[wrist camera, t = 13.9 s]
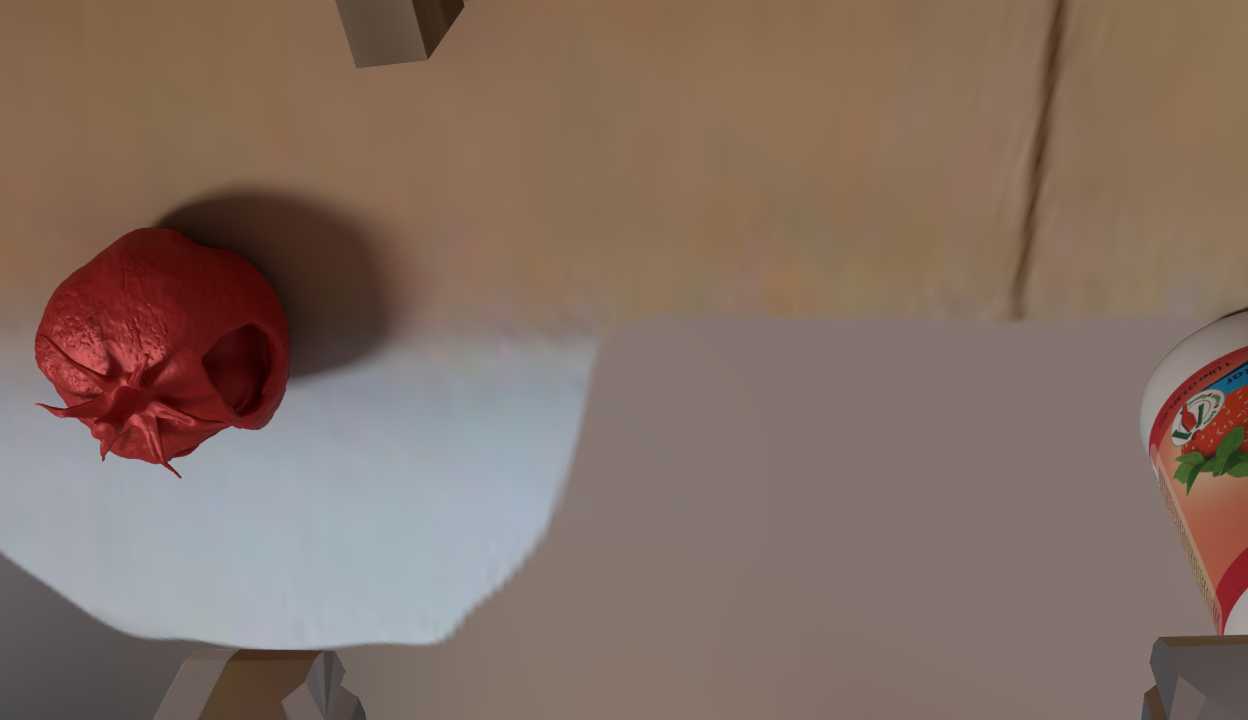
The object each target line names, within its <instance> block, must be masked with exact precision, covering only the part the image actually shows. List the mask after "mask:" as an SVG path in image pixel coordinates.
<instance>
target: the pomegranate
mask: <svg viewBox="0 0 1248 720" xmlns="http://www.w3.org/2000/svg"><path fill="white" fill-rule="evenodd" d="M289 331H290V330H289V327H288V322H287V318H286V315H285V312H284V310H283V306H282V304H281V302H280V299H279V297H278V296H277V294H276V292H275V291H274V289H273V288H272V286H271V285H270V284H269V282H268V281H267V279H266V278H265V276H264V275H262V273H261V272H260V271H259V270H258V269H257V268H255V267H254V266H253V265H252V264H251V263H250V262H249V261H248V260H246V259H245V258H243V257H242V256H241V255H239V254H237V253H236V252H233V251H230V250H222V249H216V248H211V247H207V246H202V245H199V244H197V243H195V242H194V241H192V240H191V239H190V238H188V237H187V236H185V235H183V234H181V233H180V232H178V231H176V230H173V229H164V228H153V227H151V228H141V229H136V230H134V231H132V232H130V233H127V234H125V235H124V236H122V237H121V238H119V239H118V240H117V241H115V242H114V243H113V244H111V245H110V246H109V247H108V248H106V249H105V250H103V251H102V252H100V253H99V254H98V255H97V256H96V257H95V258H94V259H92V260H91V261H90V262H89V263H87V264H86V265H85V266H83V267H81V268H79V269H78V270H76V271H75V272H73V273H72V274H71V275H70V276H69V277H68V278H67V279H66V280H64V281H63V282H62V283H61V284H60V285H59V286H58V288H57V289H56V290H55V291H54V293H53V295H52V297H51V298H50V300H49V302H48V304H47V306H46V308H45V311H44V315H43V317H42V320H41V323H40V325H39V327H38V331H37V333H36V338H35V353H36V356H35V359H36V361H37V364H38V367H39V369H40V370H41V371H42V372H43V373H44V374H45V376H46V377H47V379H48V380H49V381H50V382H52V383H53V384H54V386H55V389H56V391H57V393H58V394H59V395H60V396H61V398H62V399H63V400H64V402H65V403H66V405H67V407H68V408H65V409H63V408H57V407H50V406H47V405H44V404H39V403H38V404H35V405H39V406H42V407H44V408H46V409H47V410H49V411H50V412H51V413H52V414H54V415H55V416H57V417H60V418H64V417H73V418H77V419H78V420H80V421H81V422H82V423H84V424H85V425H87V426H88V427H89V428H90V429H91V434H92V436H93V437H94V438H96V439H99V440H100V441H101V444H100V454H101V456H102V461H104V460H105V455H106V454H107V452H108V451H109V450H110V451H111V452H113V453H114V454H115V455H117V456H120V457H124V458H128V459H140V460H143V461H146V462H149V463H152V464H162V465H163V466H165V467H166V468H168V469H169V470H171V471H173V472H174V473H175V474H176V475H177V476H178V477H179V478H181V476H180V475H179V474H178V473H177V472H176V471H175V470H174V469H173V468H172V467H171V466H170V465H169V464H168V463H167V462H168V461H170V460H172V458H177V457H183V456H186V455H189V454H190V453H192V452H193V451H194V450H195V449H196V448H197V447H198V446H199V444H201V443H202V442H203V441H205V440H206V439H208V438H210V437H212V436H214V435H216V434H217V433H218V432H220V431H221V430H223V429H226V428H228V427H230V426H234V427H236V428H239V429H242V428H244V429H250V430H259V429H261V428H263V427H265V426H266V425H267V424H268V423H269V421H270V420H271V419H272V417H273V415H274V413H275V411H276V410H277V409H278V407H279V405H280V403H281V402H282V399H283V396H284V394H285V391H286V384H287V381H288V378H289V376H290V372H289V359H290V333H289Z"/></svg>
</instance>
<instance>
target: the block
mask: <svg viewBox="0 0 1248 720" xmlns="http://www.w3.org/2000/svg"><path fill="white" fill-rule="evenodd" d="M335 1H336V4H337V7H338V10H339V13H340V17H341V20H342V23H343V26H344V29H345V33H346V36H347V39H348V42H349V45H350V49H351V52H352V55H353V58H354V61H355V65H356V68H363V67H371V66H380V65H389V64H397V63H406V62H414V61H423V60H428V59H429V57H430V56H431V54H432V53H433V52H434V50H435V49H436V47H437V46H438V44H439V43H440V41H441V40H442V38H443V37H444V36H445V34H446V33H447V31H448V30H449V28H450V27H451V25H452V24H453V22H454V21H455V20H456V18H457V17H458V15H459V14H460V12H461V11H462V9H463V8H464V2H463V0H335Z"/></svg>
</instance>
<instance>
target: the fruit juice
mask: <svg viewBox="0 0 1248 720" xmlns="http://www.w3.org/2000/svg"><path fill="white" fill-rule="evenodd" d="M1139 424H1140V431H1141V436H1142V441H1143V446H1144V449H1145V451H1146V454H1147V456H1148V459H1149V461H1150V464H1151V466H1152V469H1153V472H1154V474H1155V476H1156V480H1157V482H1158V484H1159V487H1160V490H1161V492H1162V495H1163V497H1164V500H1165V502H1166V505H1167V507H1168V510H1169V513H1170V515H1171V517H1172V520H1173V523H1174V525H1175V528H1176V530H1177V533H1178V535H1179V538H1180V540H1181V543H1182V546H1183V548H1184V551H1185V553H1186V556H1187V558H1188V561H1189V563H1190V566H1191V568H1192V571H1193V573H1194V576H1195V578H1196V581H1197V583H1198V586H1199V589H1200V591H1201V594H1202V596H1203V599H1204V601H1205V604H1206V606H1207V609H1208V611H1209V614H1210V616H1211V619H1212V621H1213V624H1214V627H1215V629H1216V631H1217V634H1218V635H1248V311H1245V312H1241V313H1238V314H1235V315H1232V316H1229V317H1226V318H1223V319H1221V320H1218V321H1216V322H1214V323H1212V324H1209V325H1208V326H1206V327H1204V328H1202V329H1200V330H1198V331H1197V332H1195V333H1193V334H1192V335H1190V336H1189V337H1188V338H1186V339H1184V340H1183V341H1182V342H1181V343H1180V344H1178V345H1177V346H1176V347H1174V348H1173V349H1172V350H1171V351H1170V352H1169V353H1168V354H1167V355H1166V356H1165V357H1164V358H1163V359H1162V361H1161V362H1160V363H1159V364H1158V366H1157V367H1156V368H1155V370H1154V371H1153V373H1152V375H1151V376H1150V378H1149V380H1148V382H1147V384H1146V387H1145V389H1144V392H1143V395H1142V398H1141V404H1140V412H1139Z"/></svg>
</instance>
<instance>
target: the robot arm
mask: <svg viewBox="0 0 1248 720" xmlns="http://www.w3.org/2000/svg"><path fill="white" fill-rule="evenodd" d="M1150 665H1151V668H1152V672H1153V675H1154V678H1155V681H1156V685H1155V686H1154V687H1152V688H1151V689H1150V690H1149V691H1147V692H1146V693H1145V694H1144V702H1143V709H1142V717H1141V718H1142V720H1248V635H1214V636H1178V637H1159V638H1158V639H1157V640H1156V642H1155V643H1154V644H1153V649H1152V654H1151V659H1150ZM345 671H346V670H345V669H344V667H343V665H342V663H341V661H340V659H339V658H338V656H337V654H336V652H335V651H325V650H260V649H207V650H206V649H199V650H197V651H196V652H195V653H193V654H192V655H191V656H190V657H189V658H188V659H186V660H185V662H184V663H183V665H182V667H181V669H180V670H179V672H178V674H177V676H176V678H175V680H174V681H173V683H172V685H171V687H170V689H169V691H168V693H167V694H166V696H165V698H164V700H163V702H162V704H161V705H160V707H159V709H158V711H157V713H156V715H155V717H154V719H153V720H366V715H365V711H364V709H363V707H362V704H361V702H360V700H359V698H358V697H357V696H355V695H354V694H352V693H351V692H349V691H348V690H347V689H345V688H344V687H342V686H341V685H340V684H341V682H342V679H343V676H344V674H345Z"/></svg>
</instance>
